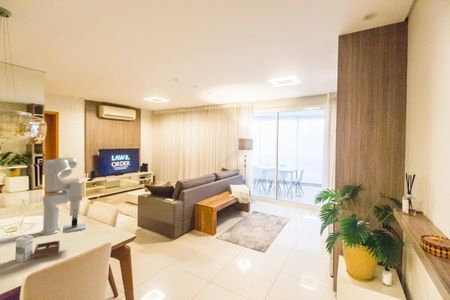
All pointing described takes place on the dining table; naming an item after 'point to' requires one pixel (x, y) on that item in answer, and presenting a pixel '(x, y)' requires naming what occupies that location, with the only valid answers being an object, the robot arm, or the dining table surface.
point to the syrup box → (24, 248)
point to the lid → (74, 228)
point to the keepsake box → (46, 249)
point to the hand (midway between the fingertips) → (74, 224)
